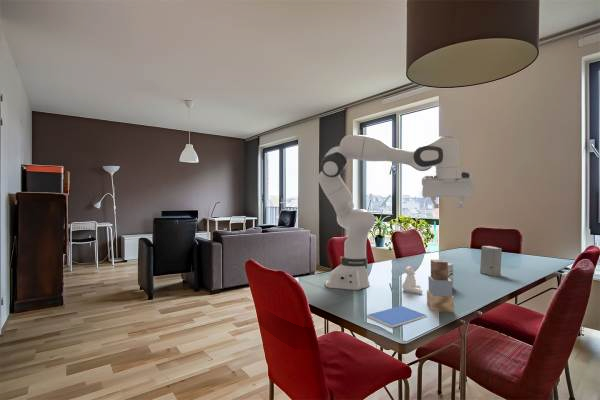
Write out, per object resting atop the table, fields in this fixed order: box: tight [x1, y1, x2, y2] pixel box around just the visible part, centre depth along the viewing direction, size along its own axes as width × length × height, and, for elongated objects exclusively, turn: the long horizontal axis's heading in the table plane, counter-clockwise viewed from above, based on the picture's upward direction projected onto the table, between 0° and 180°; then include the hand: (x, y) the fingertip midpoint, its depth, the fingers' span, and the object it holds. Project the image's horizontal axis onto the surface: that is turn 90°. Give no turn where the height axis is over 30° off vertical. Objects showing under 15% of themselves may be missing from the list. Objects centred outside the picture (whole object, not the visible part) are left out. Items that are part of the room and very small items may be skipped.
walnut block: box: [430, 259, 449, 280], centre depth 122 cm, size 5×5×7 cm
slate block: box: [427, 275, 453, 297], centre depth 122 cm, size 7×7×6 cm
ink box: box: [448, 262, 454, 289], centre depth 150 cm, size 8×5×12 cm, turn 123°
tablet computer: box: [366, 305, 428, 329], centre depth 114 cm, size 19×13×1 cm, turn 121°
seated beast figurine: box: [402, 265, 423, 295], centre depth 145 cm, size 10×9×12 cm
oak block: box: [426, 289, 455, 313], centre depth 122 cm, size 8×8×6 cm
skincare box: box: [479, 245, 503, 277], centre depth 176 cm, size 8×7×16 cm
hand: (448, 208), depth 129 cm, fingers open, 8 cm apart
